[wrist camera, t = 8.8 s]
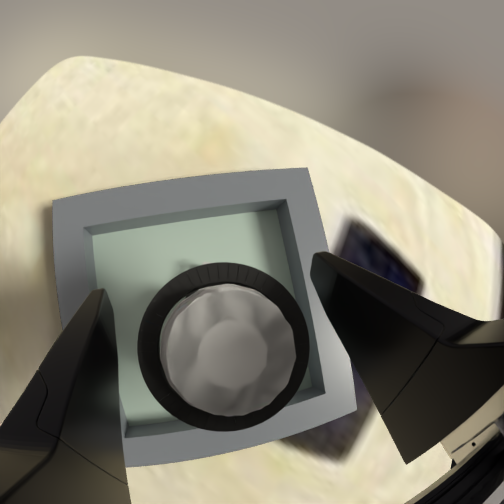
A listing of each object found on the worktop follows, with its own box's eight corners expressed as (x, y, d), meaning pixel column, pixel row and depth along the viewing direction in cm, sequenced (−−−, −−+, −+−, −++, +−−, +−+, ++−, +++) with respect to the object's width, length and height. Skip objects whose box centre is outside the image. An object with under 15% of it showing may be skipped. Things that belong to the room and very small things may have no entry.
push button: (164, 261, 17) (152, 197, 8) (251, 271, 19) (329, 225, 9) (154, 372, 16) (130, 436, 6) (243, 379, 17) (314, 439, 8)
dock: (335, 399, 19) (356, 409, 16) (113, 448, 15) (104, 468, 12) (291, 185, 22) (307, 167, 19) (68, 215, 17) (52, 200, 14)
